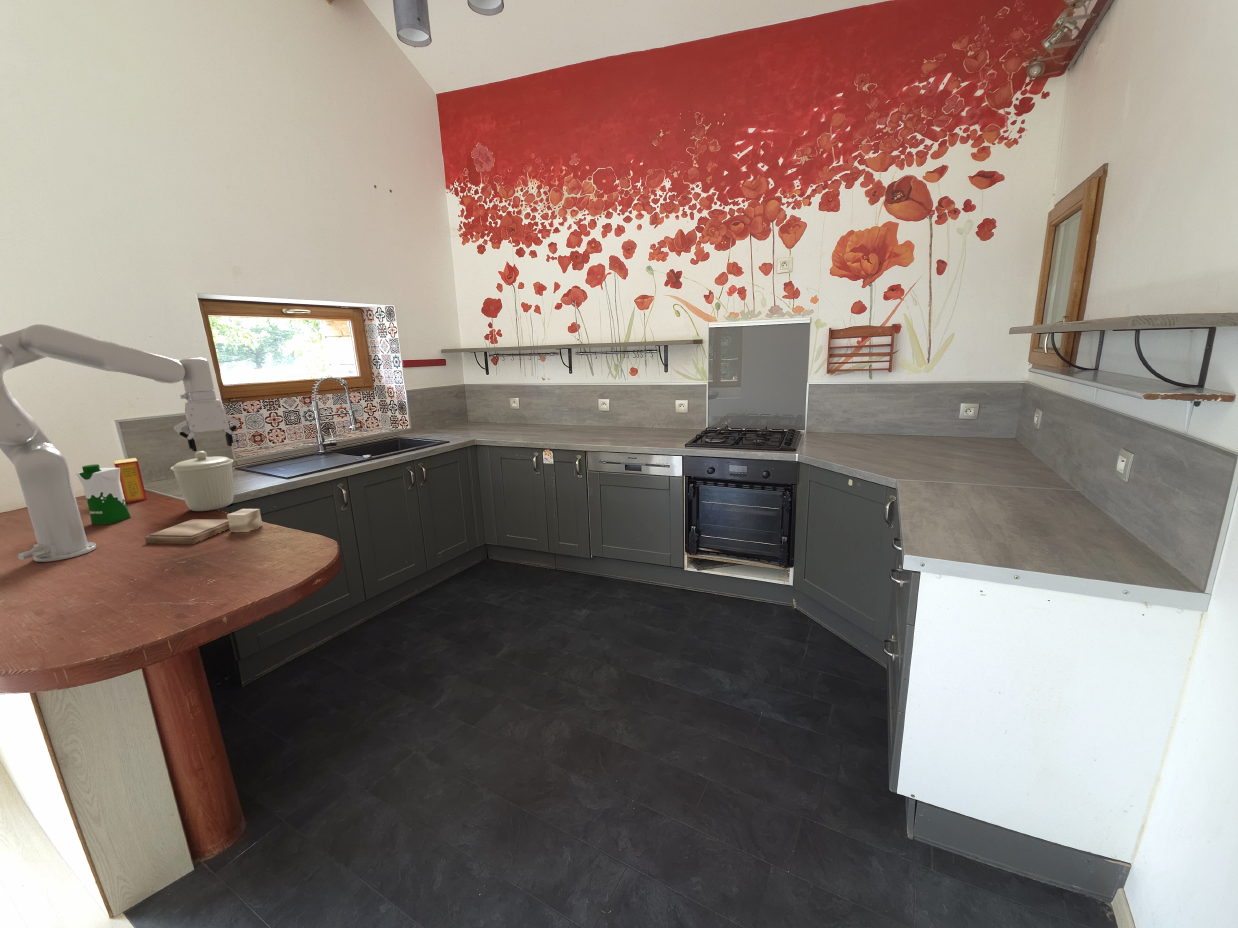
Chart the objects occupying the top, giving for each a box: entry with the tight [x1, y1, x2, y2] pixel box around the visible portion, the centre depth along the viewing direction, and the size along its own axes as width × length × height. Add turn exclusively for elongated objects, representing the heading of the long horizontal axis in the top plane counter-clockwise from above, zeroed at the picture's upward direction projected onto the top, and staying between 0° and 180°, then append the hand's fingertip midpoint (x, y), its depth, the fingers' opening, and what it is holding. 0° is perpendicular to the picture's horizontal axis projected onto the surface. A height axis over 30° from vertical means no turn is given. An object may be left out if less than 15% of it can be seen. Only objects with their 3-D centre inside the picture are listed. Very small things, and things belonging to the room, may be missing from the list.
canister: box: [170, 450, 235, 512], centre depth 192 cm, size 18×18×21 cm
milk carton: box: [76, 463, 132, 525], centre depth 179 cm, size 9×9×20 cm
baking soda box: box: [112, 457, 148, 504], centre depth 206 cm, size 10×6×16 cm
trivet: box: [144, 518, 230, 545], centre depth 165 cm, size 16×16×2 cm
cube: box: [226, 508, 263, 533], centre depth 168 cm, size 6×6×6 cm
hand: (212, 448), depth 176 cm, fingers open, 9 cm apart
